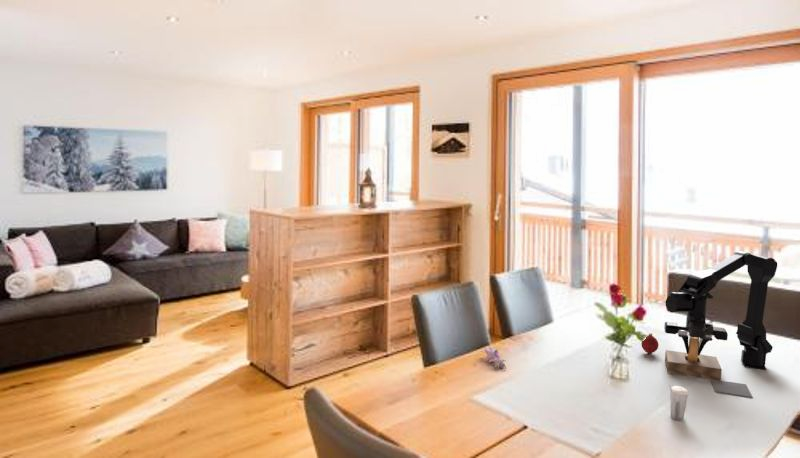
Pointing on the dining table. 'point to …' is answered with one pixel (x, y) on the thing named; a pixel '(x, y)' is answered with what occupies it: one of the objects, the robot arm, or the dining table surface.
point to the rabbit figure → (494, 357)
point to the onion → (650, 344)
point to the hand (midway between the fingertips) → (692, 354)
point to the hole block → (692, 365)
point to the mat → (731, 388)
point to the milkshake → (678, 402)
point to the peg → (693, 349)
